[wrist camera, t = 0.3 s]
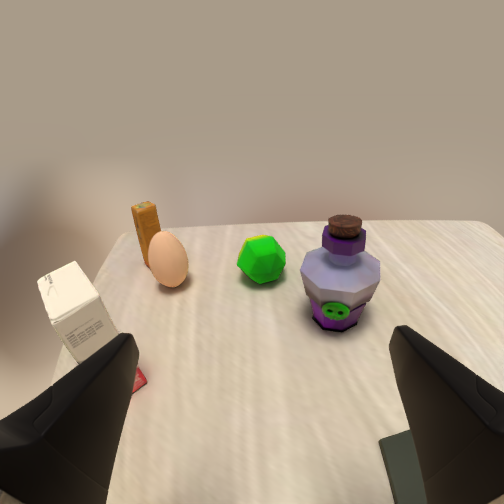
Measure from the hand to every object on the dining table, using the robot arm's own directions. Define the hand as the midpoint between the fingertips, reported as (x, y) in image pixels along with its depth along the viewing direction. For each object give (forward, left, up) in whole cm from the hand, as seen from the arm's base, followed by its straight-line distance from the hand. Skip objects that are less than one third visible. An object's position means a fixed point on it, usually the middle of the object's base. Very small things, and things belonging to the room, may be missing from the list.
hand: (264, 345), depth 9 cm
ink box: (+11, +16, -16) cm, 26 cm away
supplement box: (+32, +15, -16) cm, 39 cm away
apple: (+27, -1, -16) cm, 31 cm away
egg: (+26, +11, -16) cm, 33 cm away
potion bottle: (+17, -9, -16) cm, 25 cm away
